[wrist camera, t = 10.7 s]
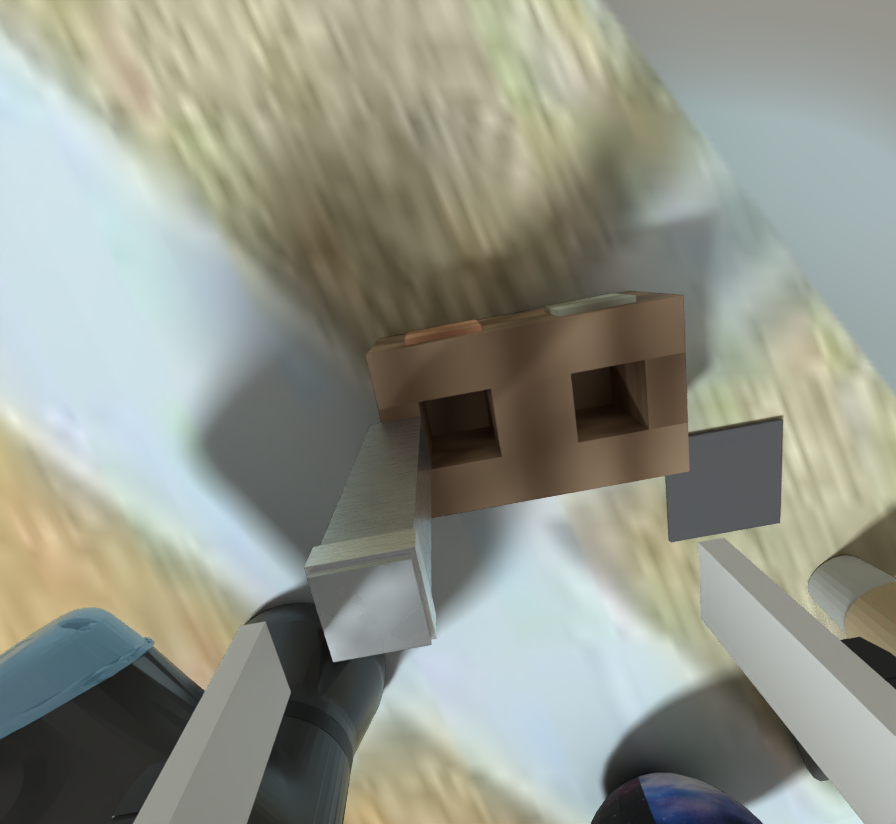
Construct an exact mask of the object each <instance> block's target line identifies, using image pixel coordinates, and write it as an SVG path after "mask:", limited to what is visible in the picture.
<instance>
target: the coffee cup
mask: <svg viewBox="0 0 896 824" xmlns="http://www.w3.org/2000/svg"><path fill="white" fill-rule="evenodd" d="M808 590H809V594H810V596H811V597H812V599H813V600H814V601H815V603H816V604H817V605H818V606H819V607H820V608H821V609H822V610H823V611H824V612H825V613H826V614H827V615H828V616H829V617H830V618H831V619H832V620H833V621H834V622H835V623H836V624H837V625H838V626H839V628H840V629H841V630H842V631H843V632H844V633H845V634H846V636H847V637H848V639H849V638H855V637H862V638H864V639H865V640H867V641H869V642H871V643H873V644H875V645H877V646H879V647H881V648H883V649H885V650H886V651H888V652H890V653H892V654H893V655H894V656H895V657H896V578H895V577H893V576H891V575H889V574H887V573H885V572H884V571H882V570H880V569H878V568H876V567H874V566H872V565H870V564H869V563H867V562H865V561H863V560H861V559H859V558H857V557H854V556H849V555H844V556H838V557H835V558H832V559H830V560H828V561H827V562H825V563H823V564H822V565H821V566H819V567H818V568H817V569H816V570H815V571H814V573H813V574H812V576H811V578H810V580H809V584H808Z"/></svg>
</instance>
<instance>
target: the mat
mask: <svg viewBox="0 0 896 824" xmlns="http://www.w3.org/2000/svg"><path fill="white" fill-rule="evenodd" d="M782 426H783V420H781V419H775V420H769V421H764V422H758V423H753V424H747V425H742V426H736V427H731V428H725V429H720V430H715V431H709V432H704V433H698V434H693V435H688V440H689V468H690V471H689V472H683V473H678V474H672V475H667V476H665V480H666V499H667V518H668V537H669V541H670V542H675V541H681V540H686V539H692V538H698V537H703V536H709V535H714V534H720V533H726V532H731V531H737V530H743V529H748V528H754V527H759V526H765V525H771V524H776V523H780V500H781V463H782Z"/></svg>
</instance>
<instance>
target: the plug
mask: <svg viewBox="0 0 896 824" xmlns="http://www.w3.org/2000/svg"><path fill="white" fill-rule="evenodd" d="M304 569H305V572H306V575H307V581H308V584H309V587H310V590H311V594H312V597H313V600H314V603H315V606H316V609H317V612H318V616H319V619H320V622H321V625H322V628H323V631H324V635H325V638H326V641H327V644H328V647H329V650H330V653H331V657H332V660H333V662H338V661H343V660H349V659H354V658H360V657H366V656H371V655H377V654H382V653H388V652H394V651H399V650H405V649H410V648H416V647H422V646H427V645H431V640H432V639H437V637H436V612H435V607H434V603H433V599H432V594H431V460H430V455H429V450H428V446H427V441H426V436H425V431H424V427H423V422H422V417H421V416H416V417H410V418H405V419H400V420H394V421H389V422H384V423H378V424H373V425H370V426H369V429H368V431H367V434H366V436H365V438H364V441H363V443H362V446H361V448H360V451H359V453H358V455H357V458H356V460H355V463H354V465H353V467H352V470H351V472H350V475H349V477H348V480H347V482H346V484H345V487H344V489H343V492H342V494H341V496H340V499H339V501H338V504H337V506H336V508H335V511H334V513H333V516H332V518H331V521H330V523H329V525H328V528H327V530H326V533H325V535H324V537H323V540H322V542H321V545H320V546H316V547H313V548H312V551H311V553H310V555H309V557H308V560H307V562H306V564H305V566H304Z"/></svg>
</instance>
